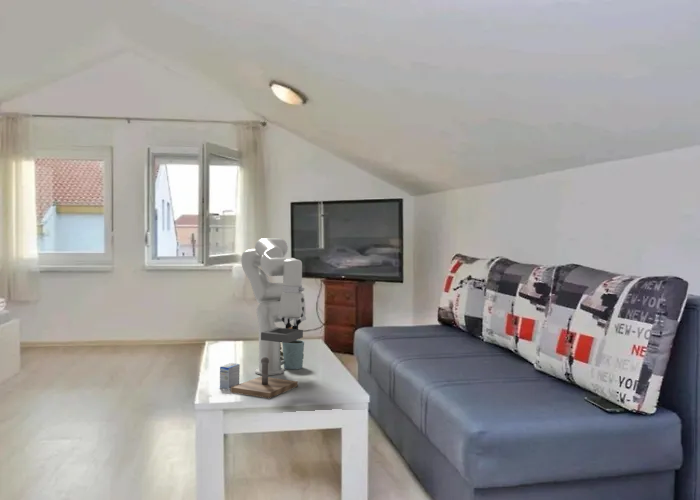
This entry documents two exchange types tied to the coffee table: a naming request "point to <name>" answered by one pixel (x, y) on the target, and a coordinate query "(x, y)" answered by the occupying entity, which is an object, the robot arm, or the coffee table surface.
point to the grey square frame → (282, 335)
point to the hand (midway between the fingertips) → (291, 334)
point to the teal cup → (293, 354)
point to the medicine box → (229, 375)
